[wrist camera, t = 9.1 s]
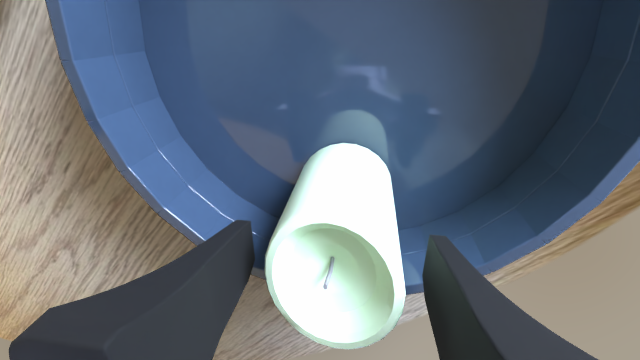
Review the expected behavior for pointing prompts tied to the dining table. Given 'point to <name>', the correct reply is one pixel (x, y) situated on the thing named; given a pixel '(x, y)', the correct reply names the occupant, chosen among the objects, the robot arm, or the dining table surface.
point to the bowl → (364, 109)
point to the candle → (338, 250)
